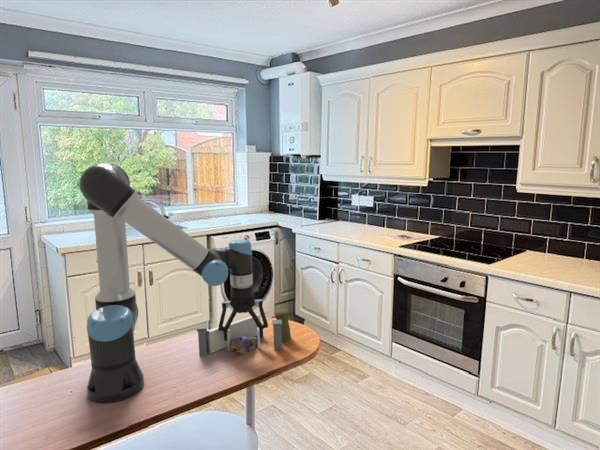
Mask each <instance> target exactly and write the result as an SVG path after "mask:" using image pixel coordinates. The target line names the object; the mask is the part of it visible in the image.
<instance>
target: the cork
mask: <svg viewBox="0 0 600 450" xmlns="http://www.w3.org/2000/svg"><path fill="white" fill-rule="evenodd" d="M290 315H291V314H290V312H289V310H288V309H278V310H276V312H275V315H274V316H275V320H282V326H281V331H282V344H286V343H289V342H291V340H292V336H291V335H292V334H291V329H290V324H289V323H290V322H289V319H290Z"/></svg>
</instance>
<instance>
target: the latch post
mask: <svg viewBox="0 0 600 450" xmlns="http://www.w3.org/2000/svg"><path fill="white" fill-rule="evenodd" d="M271 321H272V323H271V324H272V327H273V331H272V332H273V333H272V334H273V349H274V352H275V351H283V345H282V344H283V343H282V331H281V326H282V320H277V319H272V320H271Z"/></svg>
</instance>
